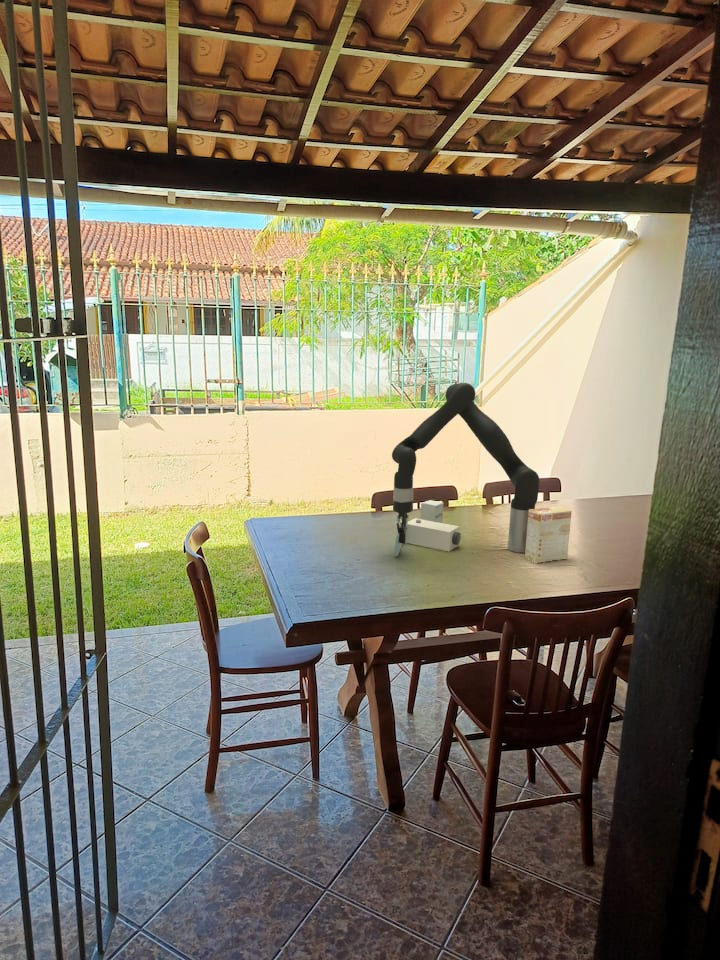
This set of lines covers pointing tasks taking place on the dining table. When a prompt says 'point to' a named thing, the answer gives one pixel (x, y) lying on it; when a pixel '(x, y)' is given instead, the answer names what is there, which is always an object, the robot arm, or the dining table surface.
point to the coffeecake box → (548, 534)
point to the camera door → (397, 545)
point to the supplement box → (432, 511)
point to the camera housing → (432, 534)
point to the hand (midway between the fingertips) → (402, 542)
